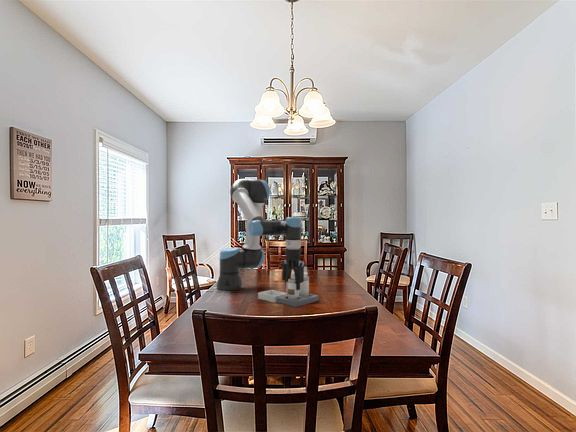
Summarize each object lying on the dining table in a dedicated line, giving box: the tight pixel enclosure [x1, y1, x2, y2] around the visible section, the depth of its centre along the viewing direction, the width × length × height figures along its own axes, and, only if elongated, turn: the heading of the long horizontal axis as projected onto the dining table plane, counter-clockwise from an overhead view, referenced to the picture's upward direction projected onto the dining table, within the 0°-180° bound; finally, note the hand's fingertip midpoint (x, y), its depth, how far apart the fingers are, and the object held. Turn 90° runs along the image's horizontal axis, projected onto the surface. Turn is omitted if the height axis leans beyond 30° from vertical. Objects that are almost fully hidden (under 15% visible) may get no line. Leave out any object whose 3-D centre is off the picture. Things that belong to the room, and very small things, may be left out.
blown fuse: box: [288, 277, 297, 300], centre depth 178 cm, size 5×5×12 cm
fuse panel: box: [276, 292, 320, 308], centre depth 182 cm, size 12×18×3 cm, turn 138°
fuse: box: [300, 276, 310, 297], centre depth 185 cm, size 5×5×12 cm
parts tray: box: [257, 289, 287, 303], centre depth 187 cm, size 12×10×3 cm
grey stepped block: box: [291, 266, 309, 292], centre depth 201 cm, size 9×5×15 cm, turn 84°
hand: (292, 295), depth 178 cm, fingers closed on blown fuse, 5 cm apart
